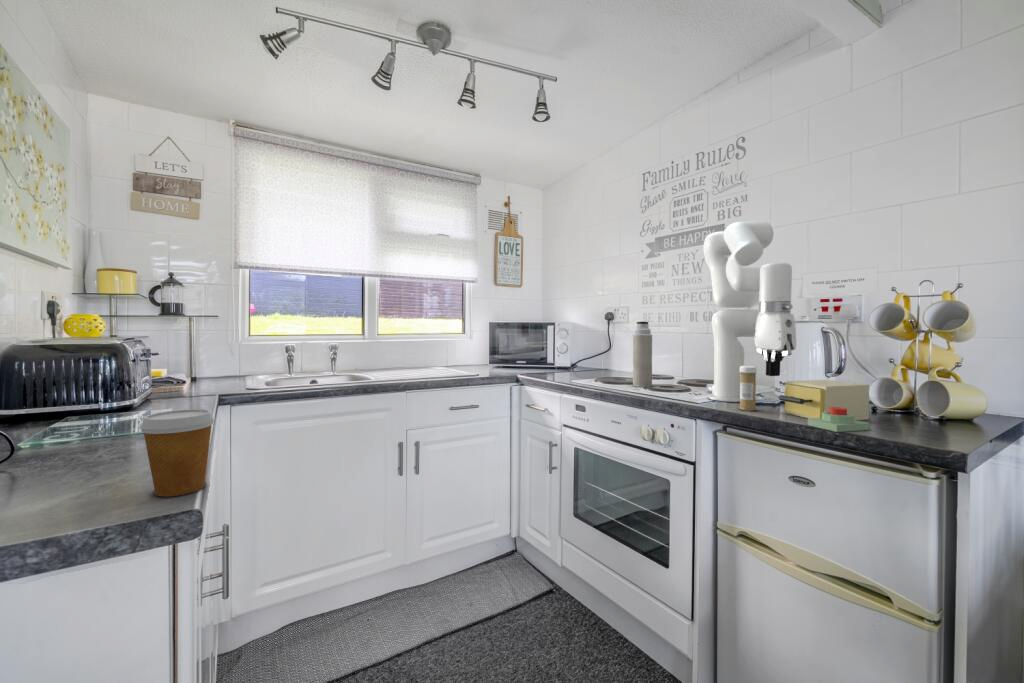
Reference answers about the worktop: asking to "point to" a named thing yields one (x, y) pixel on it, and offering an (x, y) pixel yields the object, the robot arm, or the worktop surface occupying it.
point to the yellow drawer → (804, 400)
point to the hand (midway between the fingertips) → (772, 375)
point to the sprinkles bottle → (748, 388)
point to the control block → (838, 422)
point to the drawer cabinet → (840, 396)
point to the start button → (837, 411)
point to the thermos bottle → (642, 356)
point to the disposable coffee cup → (178, 449)
